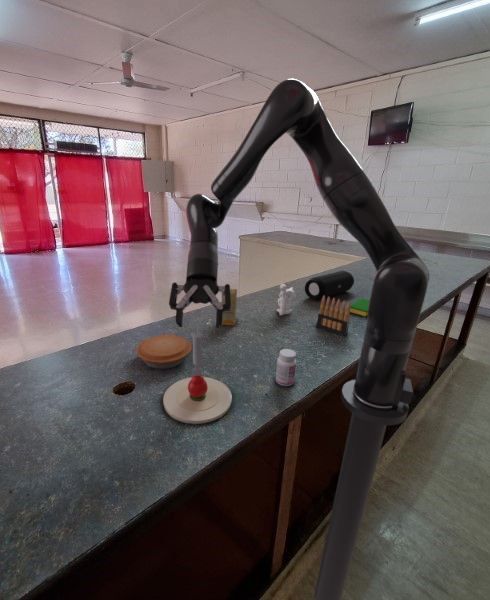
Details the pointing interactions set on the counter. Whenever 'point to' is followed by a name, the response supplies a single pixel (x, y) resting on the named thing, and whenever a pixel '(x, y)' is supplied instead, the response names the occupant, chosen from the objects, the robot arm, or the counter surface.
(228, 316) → the shoe polish box
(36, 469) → the counter surface
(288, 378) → the pill bottle
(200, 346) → the forked strawberry
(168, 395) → the plate
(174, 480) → the counter surface
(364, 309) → the dish sponge
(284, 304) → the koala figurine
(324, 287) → the portable speaker
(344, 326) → the ammunition clip
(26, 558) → the counter surface
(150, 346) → the pie
